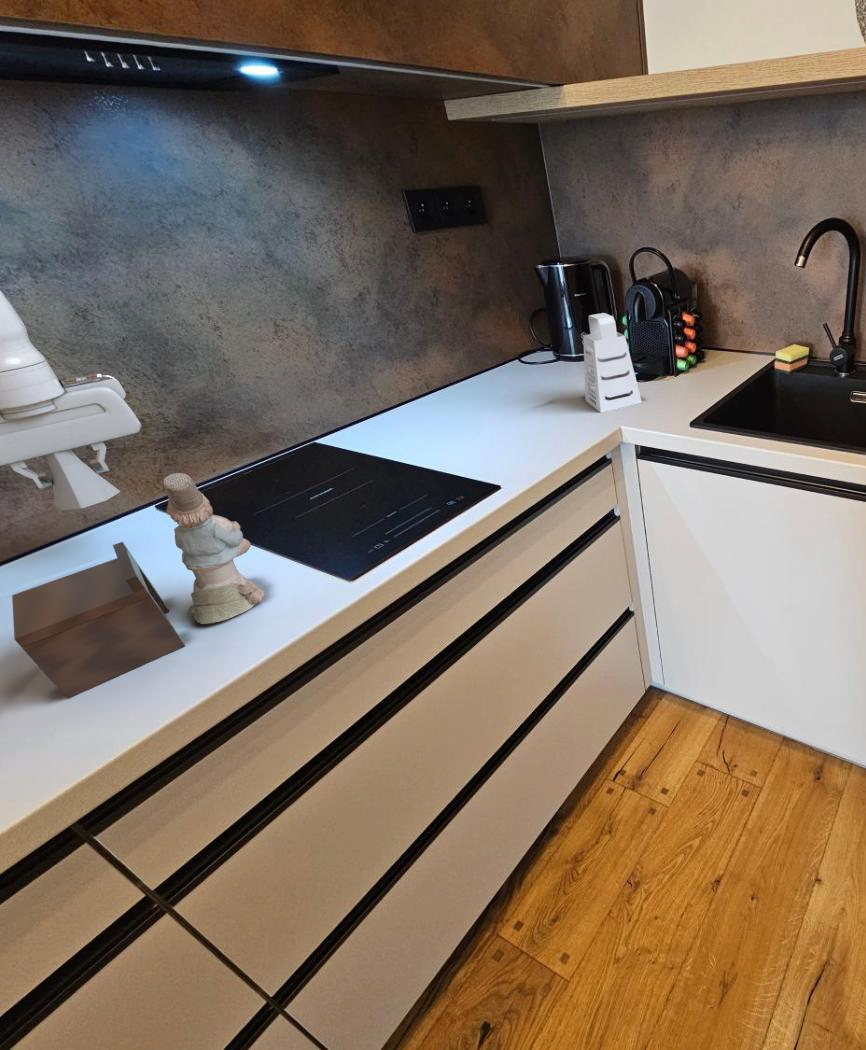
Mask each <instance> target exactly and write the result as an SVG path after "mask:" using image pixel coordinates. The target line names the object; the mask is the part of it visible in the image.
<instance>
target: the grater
mask: <svg viewBox="0 0 866 1050" xmlns="http://www.w3.org/2000/svg"><path fill="white" fill-rule="evenodd" d="M587 320H588V325H589V332H590V333H589V334H583V336H582V338H583V342H582V343H583V365H584V366H583V367H584V390H585V391H584V392H585V393H584V394H585V401H586V403H588V404H589V405H590V406H591V407H593V408H594V409H595V410H596V411H598V412H599V413H600V414H601V413H602V414H603V413H605V412H610V411H615V410H618V409H623V408H626V407H627V408H628V407H630V406H635V405H639V404H643V401H642V397H641V393H640V389H639V385H638V381H637V378H636V374H635V370H634V367H633V362H632V358H631V354H630V351H629V347H628V343H627V339H626V335H625V334H623V333H620V332H618V331H617V325H616V324H617V323H616V320H615V317H614V316H612V315H610V314H608V313H605V312H601V313H596V314H590V315H588V319H587ZM625 394H628V396H624V397H619V398H614V399H611V400H610V398H613V397H618V396H623V395H625ZM606 398H609V399H606Z"/></svg>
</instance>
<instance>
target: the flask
mask: <svg viewBox="0 0 866 1050" xmlns="http://www.w3.org/2000/svg"><path fill="white" fill-rule="evenodd" d="M44 456H45V458H46V461H47V464H48V466H49V470H50V476H51V481H52V483H53V486H52V491H53V492H52V493H53V501H54V506H55V507H56V508H58V509H59V510H60V511H69V510H81V509H85V508H88V507H90V506H94V505H96V504H99V503H103V502H105V501H108V500H109V499H111V498H112V497H114V496H116V495H118V494H119V493H121V490H120V489H118V488H117V487H115V486H114V485H113V484H111V483H110V482H109V481H107V480H106V479H105V478H104V477H102V476H101V475H100V474H99V473H98V474H97V473H96V471H95V470H93V469H92V468H91V467H89V466H88V464H86V463H85V462H83V461H82V460H81V459H80V458H79V457H78V456H77V455H76V454H75V452H73V450H71V449H68V450H64V451H60V452H56V453H52V454H48V455H44Z"/></svg>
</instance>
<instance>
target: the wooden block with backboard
mask: <svg viewBox="0 0 866 1050" xmlns="http://www.w3.org/2000/svg"><path fill="white" fill-rule="evenodd" d="M112 548H113V550H114V553H115V555H116V558H114V559H113V558H112V559H110V560H108V561H105V562H103V563H99V564H97V565H94V566H91V567H88V568H86V569H82V570H79V571H76V572H75V573H71V574H68V575H65V576H63V577H59V578H56V579H54V580H52V581H48V582H45V583H42V584H39V585H37V586H33V587H32V588H28V589H25V590H23V591H20V592H17V593H15V594H12V595H11V599H12V600H11V601H12V618H13V621H12V622H13V632H14V633H13V637H14V641H15V642H16V643H17V644H18V645H19V646H20V647H21V648H22V650H23V651H24V652H25V653H26V655H28V657H29V658H30V659H31V660H32V661H33V662H34V663H35V664H36V666H37V667H38V668H39V669H40V670H41V671H42V673H44V674H45V676H46V677H47V678H48V679H49V680H50V681H51V682H52V683H53V684H54V685H55V687H56V688H57V689H58V690H59V691H60V693H62V694H63V696H64V697H65V698H66V699H68V700H69V699H71V698H73V697H75V696H77V695H80V694H82V693H84V692H86V691H89V690H90V689H93V688H95V687H98V686H100V685H102V684H105V683H106V682H108V681H111V680H113V679H116V678H118V677H120V676H122V675H124V674H127V673H129V672H131V671H134V670H135V669H139V668H140V667H142V666H145V665H147V664H149V663H151V662H153V661H155V660H157V659H158V660H159V659H160V658H162V657H164V656H167V655H169V654H171V653H173V652H176V651H178V650H180V649H183V648H185V647H186V644H185V641H183V639H182V637H181V636H180V635H179V633H178V632H177V630H176V628H175V627H174V626H173V624H172V623H171V621H170V620H169V619H168V617H167V615H165V614H166V613H168V612H170V608H169V607H168V606H167V604H166V602H165V600H163V598H162V596H161V595H160V594H159V593H158V591H157V589H156V588H155V586H154V585H153V583H152V582H151V581H150V580H149V578H148V576H147V575H146V573H145V572H144V571H143V569H142V567H141V566H140V564H139V563H138V561H136V559H135V557H134V556H133V554H132V553H131V552H130V550H129V549H128V547H127V546H126V544H125V543H124V541H121V542H117V543H115V544H112Z"/></svg>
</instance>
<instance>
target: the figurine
mask: <svg viewBox="0 0 866 1050" xmlns="http://www.w3.org/2000/svg"><path fill="white" fill-rule="evenodd" d="M162 483H163V488H164V491H165V494H166V495H167V498H168V501H167V506H166V514H167V515H169V517H170V518H171V520H172V521H174V523H176V524H177V526H176V527H174V529H173V531H174V543H175V546H176V547H177V548H178V549H180V550H181V551H182V553H181V563H183V564H184V566H185V568H186V569H187V570H188V571H192V574H193V575H194V577H195V579H194V581H193V587H192V588H193V590H192V592H191V593H190V596H191V599H192V603H193V604H191V605H189V606H188V609H189V612H190V613H191V614H193V618H194V620H195V621H196V622H197V623H199V624H201V625H207V624H215V623H220V622H222V621H227V620H229V619H231V618H232V619H233V617H236V616H238V615H241V614H243V613H245V612H247V611H249V610H251V609H252V608H253V607H254V606H256V605H258V603H260V602H262V601H263V598H264V596H265V594H266V592H265V590H263V589H262V588H259V586H258V585H257V584H255V583H254V582H252V581H251V580H249V579H247V578H246V576H245V575H244V574H242V573H240V571H239V569H237V566H236V564H235V561H234V559H235V558H238V557H240V556H242V555H244V554H246V553H247V552H248V551H249V550H250V548H251V546H252V545H251V542H250V541H249V540H248V539H246V538H244V535H243V531H241V525H240V524H239V523H238V522H237V521H235V520H234V521H231V520H229V519H228V518H226V517H224V516H221V515H217V514H213V513H214V511H213V507H212V506H211V504H210V500H209V499H208V498H207V497H206V496H205V495H204V493H202V492H201V491H200V490H199V489H198V487H197V486H196V483H195V482H194V480H193V479H192V478H191V477H190V476H189V475H188V474H186V473H182V472H175V473H171V474H169V475H166V477H165V478H164V479H163V482H162Z"/></svg>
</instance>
